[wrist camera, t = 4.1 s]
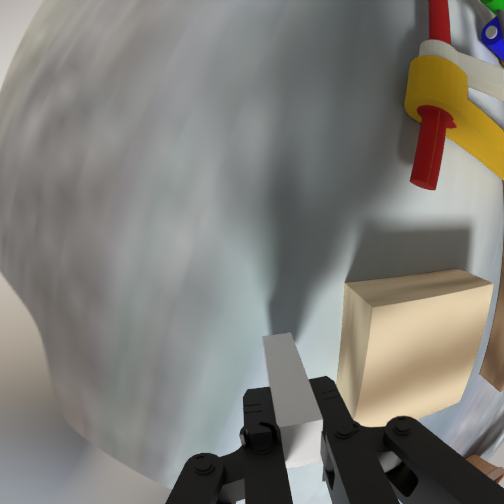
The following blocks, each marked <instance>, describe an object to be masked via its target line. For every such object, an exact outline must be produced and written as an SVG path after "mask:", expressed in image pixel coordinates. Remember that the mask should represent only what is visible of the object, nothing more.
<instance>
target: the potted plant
mask: <svg viewBox="0 0 504 504" xmlns="http://www.w3.org/2000/svg"><path fill="white" fill-rule="evenodd" d="M466 460H467V461H469V462H470V463H471V464H472V465H474V466H475V467H476V468H478V469H479V470H480V471H482V472H483V473H484V474H485V475H487V476H488V477H489V478H491V479H492V480H493V481H495V482H496V483H497V484H498V483H499V482H500V481H501V480H502V479H503V477H504V469H503V468H502V467H496V466H494V465H492V464H490V463H488V462H486V461H485V460H483V459H482V458H480V457H479V456H477V455H476V454H473V455H471V456H469V457H467V458H466Z"/></svg>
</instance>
